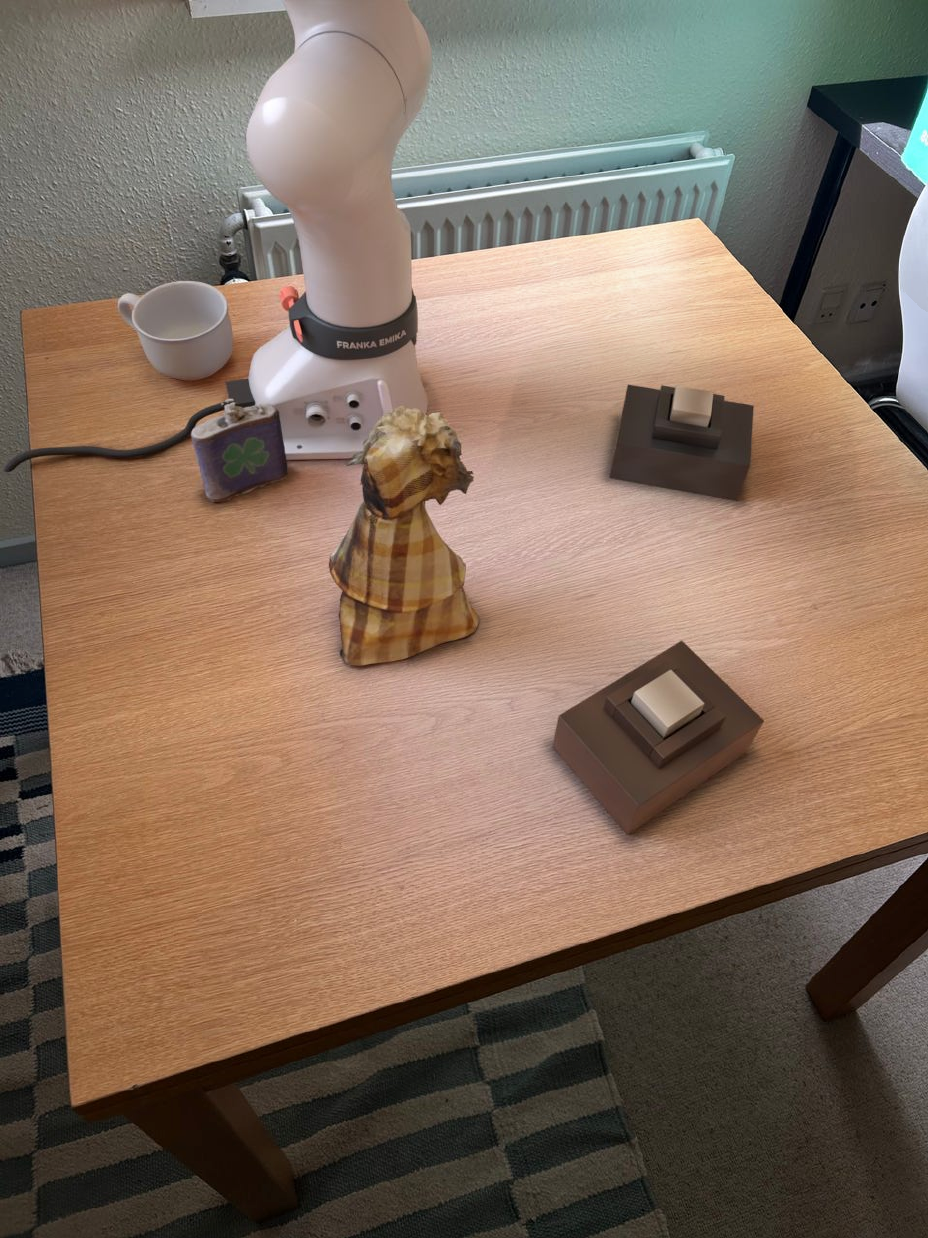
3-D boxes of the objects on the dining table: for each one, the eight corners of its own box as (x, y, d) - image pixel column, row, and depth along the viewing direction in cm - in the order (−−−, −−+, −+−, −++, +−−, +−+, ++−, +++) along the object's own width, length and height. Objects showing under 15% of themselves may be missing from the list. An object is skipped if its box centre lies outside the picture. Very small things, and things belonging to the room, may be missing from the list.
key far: (669, 422, 97) (672, 408, 95) (672, 398, 99) (676, 385, 98) (707, 428, 96) (711, 415, 95) (709, 404, 99) (713, 391, 97)
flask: (211, 506, 96) (191, 427, 88) (201, 489, 98) (180, 409, 89) (292, 477, 99) (280, 397, 91) (281, 461, 101) (268, 381, 92)
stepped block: (608, 478, 101) (619, 428, 95) (620, 420, 107) (630, 370, 101) (737, 501, 99) (755, 452, 94) (741, 441, 105) (758, 392, 100)
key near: (663, 739, 73) (668, 727, 72) (630, 703, 75) (634, 692, 74) (699, 715, 75) (704, 703, 73) (666, 681, 77) (670, 669, 75)
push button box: (627, 835, 75) (642, 796, 69) (551, 746, 80) (560, 703, 74) (747, 751, 80) (771, 709, 75) (669, 673, 85) (686, 627, 80)
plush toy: (304, 560, 91) (299, 395, 69) (433, 528, 94) (468, 361, 72) (347, 685, 86) (356, 551, 63) (482, 646, 89) (535, 506, 67)
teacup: (257, 358, 112) (247, 300, 105) (196, 405, 106) (181, 347, 100) (172, 319, 116) (157, 261, 110) (109, 363, 110) (89, 304, 104)
